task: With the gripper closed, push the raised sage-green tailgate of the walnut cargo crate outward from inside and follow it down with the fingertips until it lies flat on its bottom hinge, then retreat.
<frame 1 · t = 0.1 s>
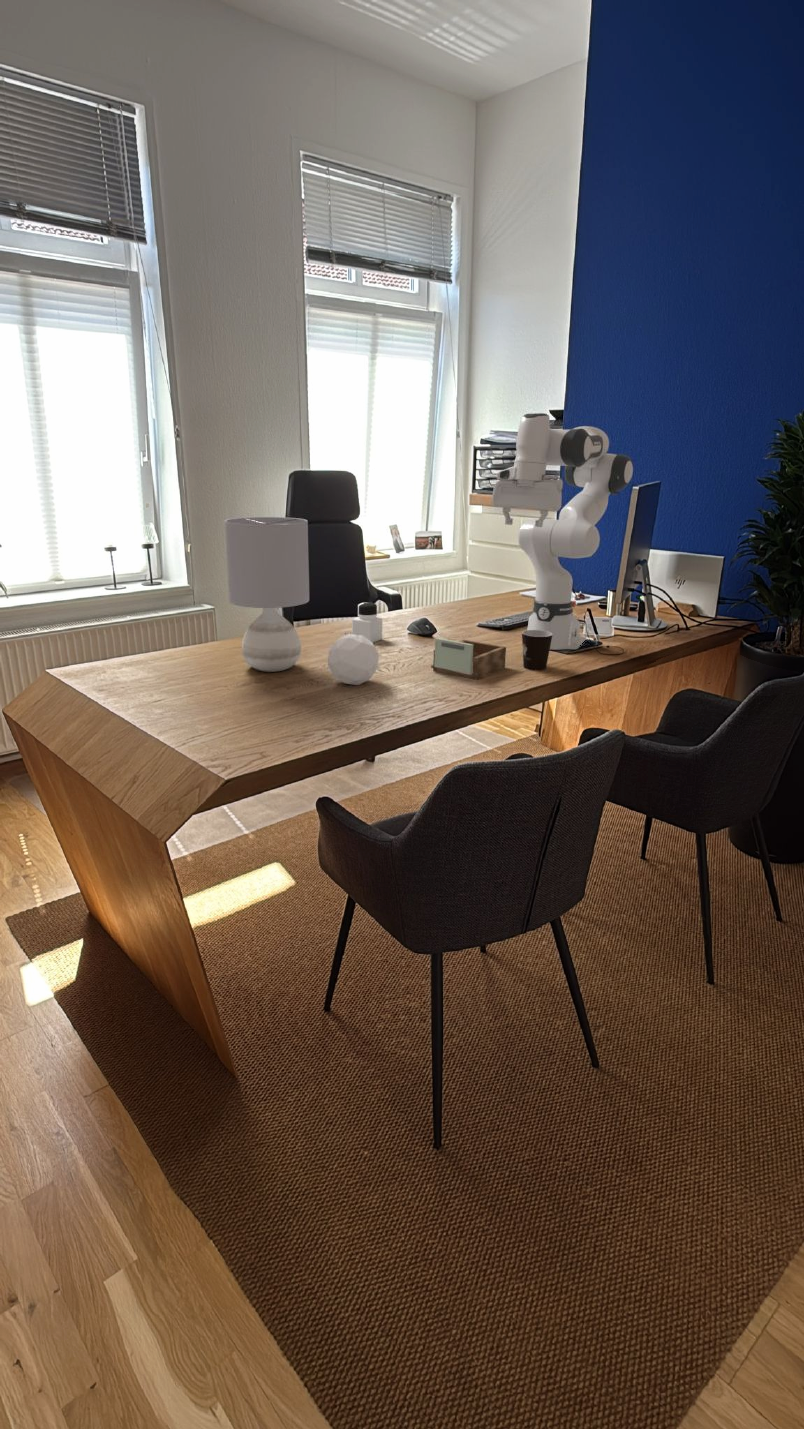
hand: (523, 525, 220), 39 cm above the table, tool pointing down, fingers open, 8 cm apart
coffee mug: (534, 666, 227), on the table
medicine bottle: (367, 640, 253), on the table
lamp: (272, 668, 220), on the table
geodesic sphere: (353, 683, 208), on the table
crate: (469, 669, 222), on the table
tailgate: (453, 655, 213), point 6 cm above the table, hinge at 0.0°
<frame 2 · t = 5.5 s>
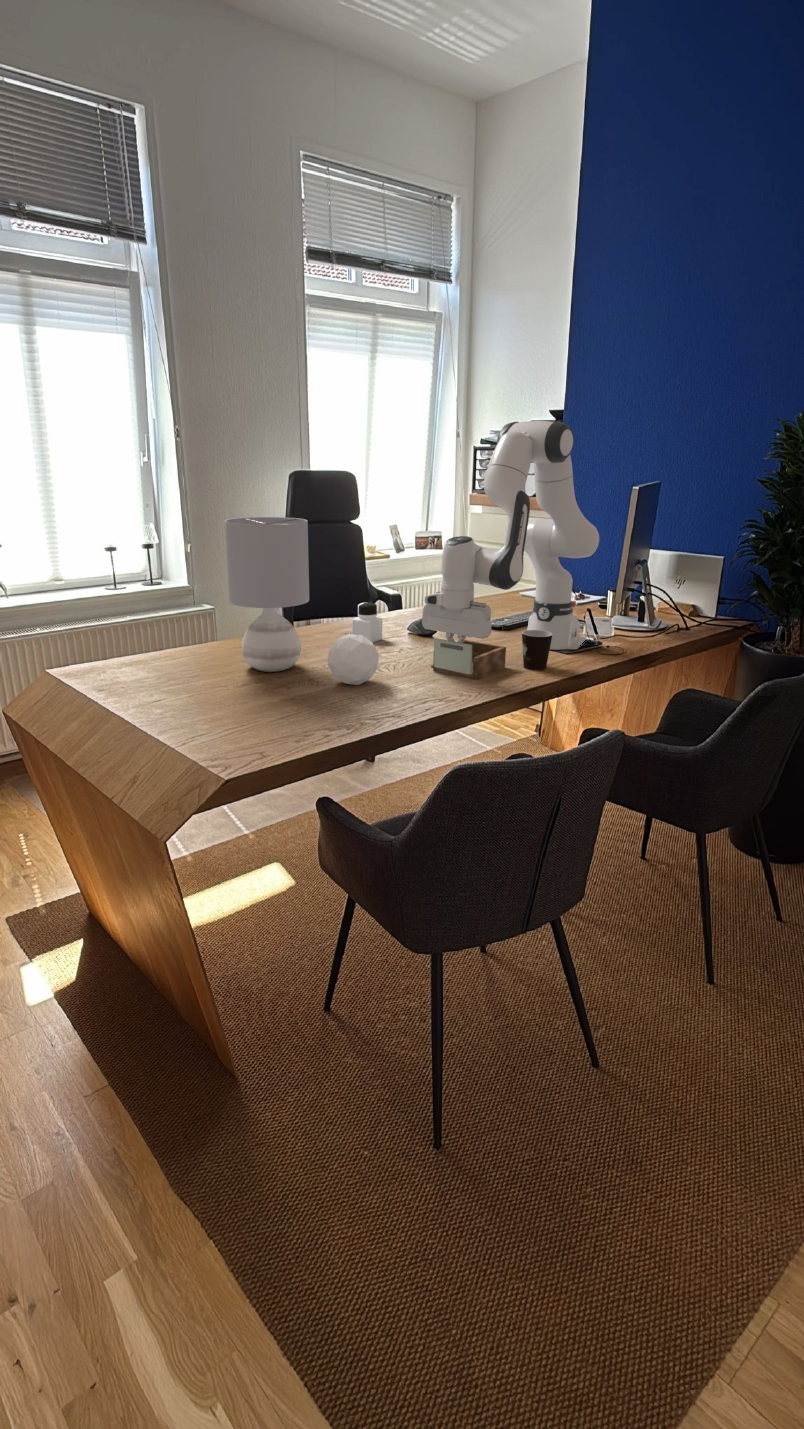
hand: (455, 649, 214), 7 cm above the table, tool pointing down, fingers closed, pressing on tailgate
tailgate: (452, 656, 213), point 6 cm above the table, hinge at 4.2°, touching gripper
everything else where it was.
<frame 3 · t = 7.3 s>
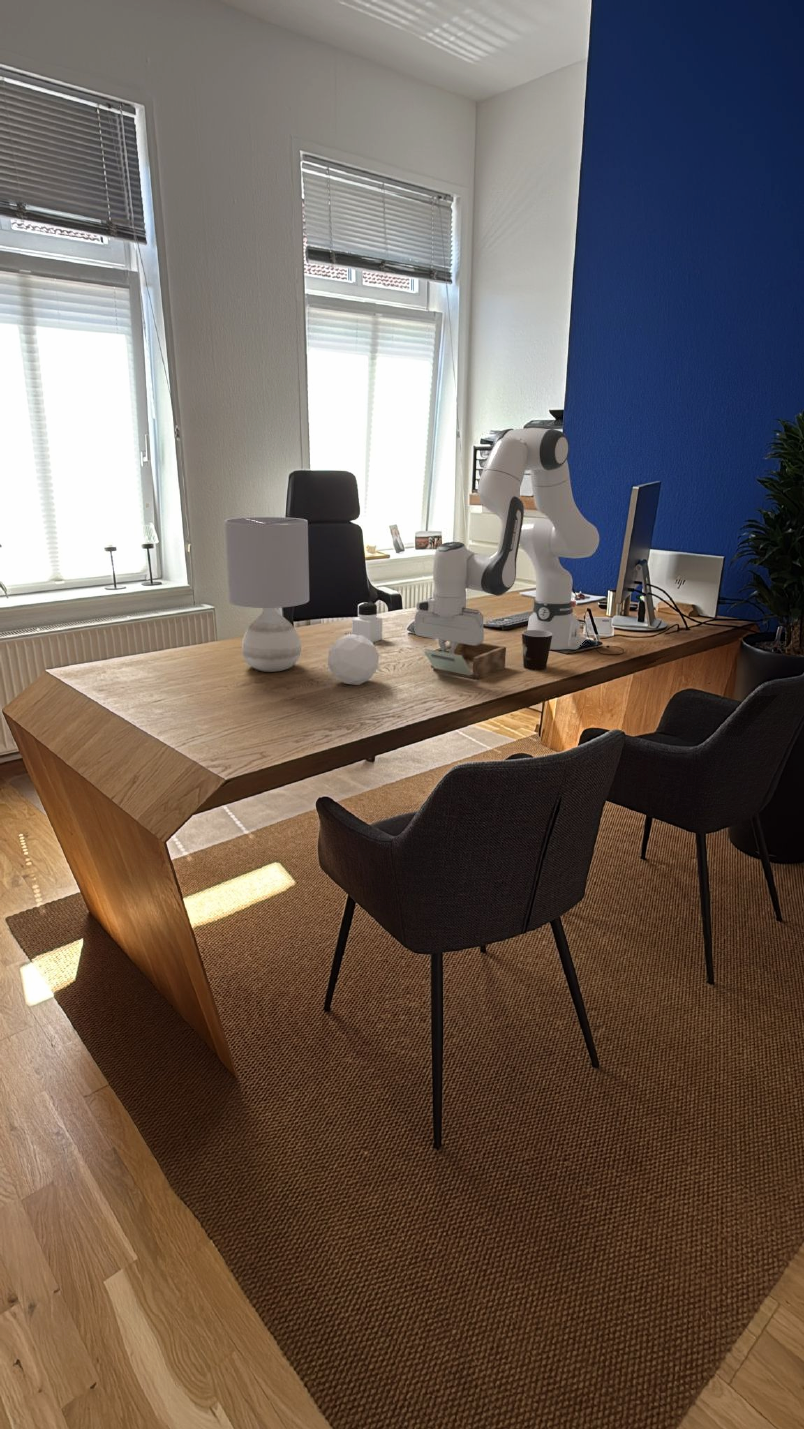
hand: (447, 656, 211), 6 cm above the table, tool pointing down, fingers closed, pressing on tailgate
tailgate: (447, 662, 212), point 4 cm above the table, hinge at 43.1°, touching gripper
everything else where it was.
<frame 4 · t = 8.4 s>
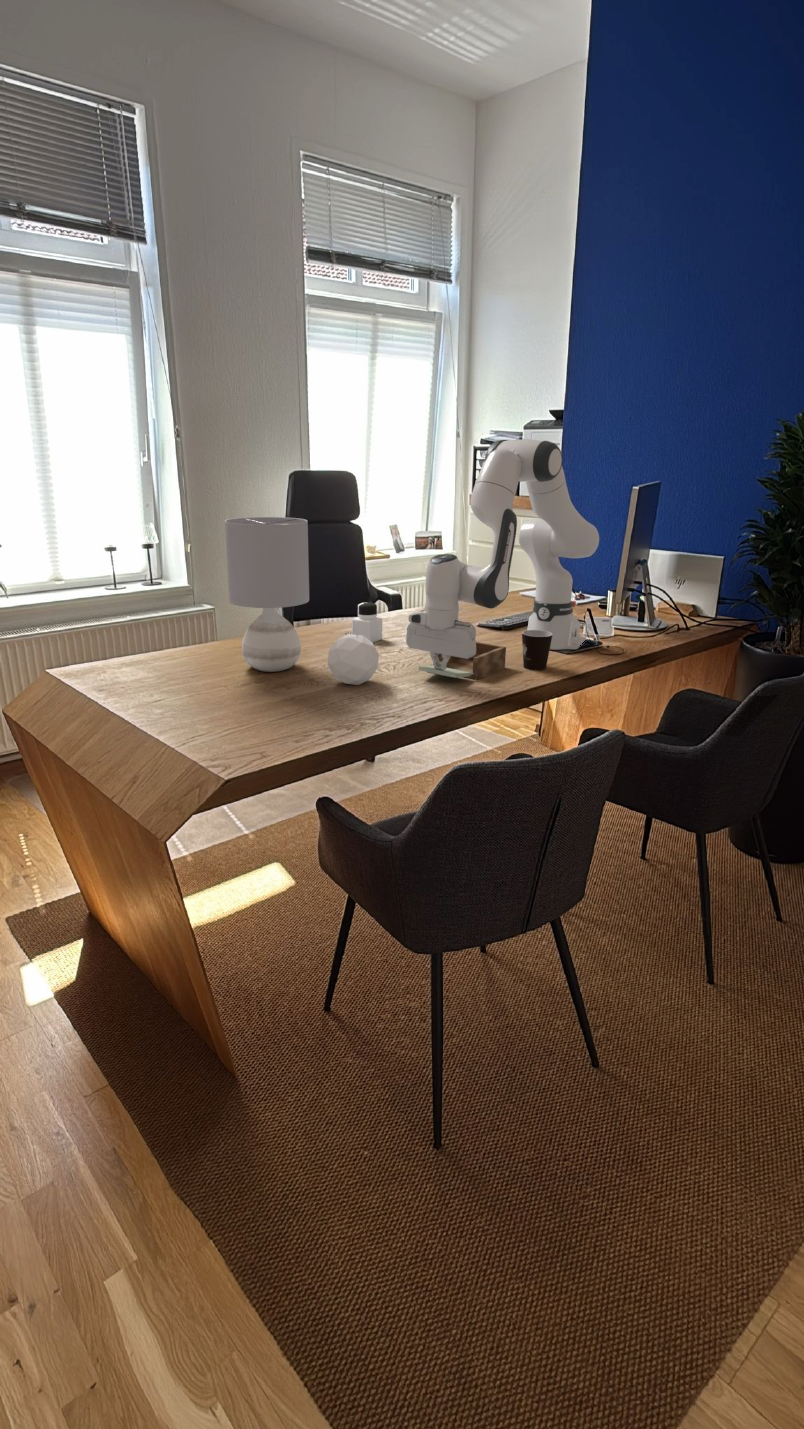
hand: (440, 669, 209), 3 cm above the table, tool pointing down, fingers closed, pressing on tailgate
tailgate: (444, 671, 212), point 2 cm above the table, hinge at 80.0°, touching gripper
everything else where it was.
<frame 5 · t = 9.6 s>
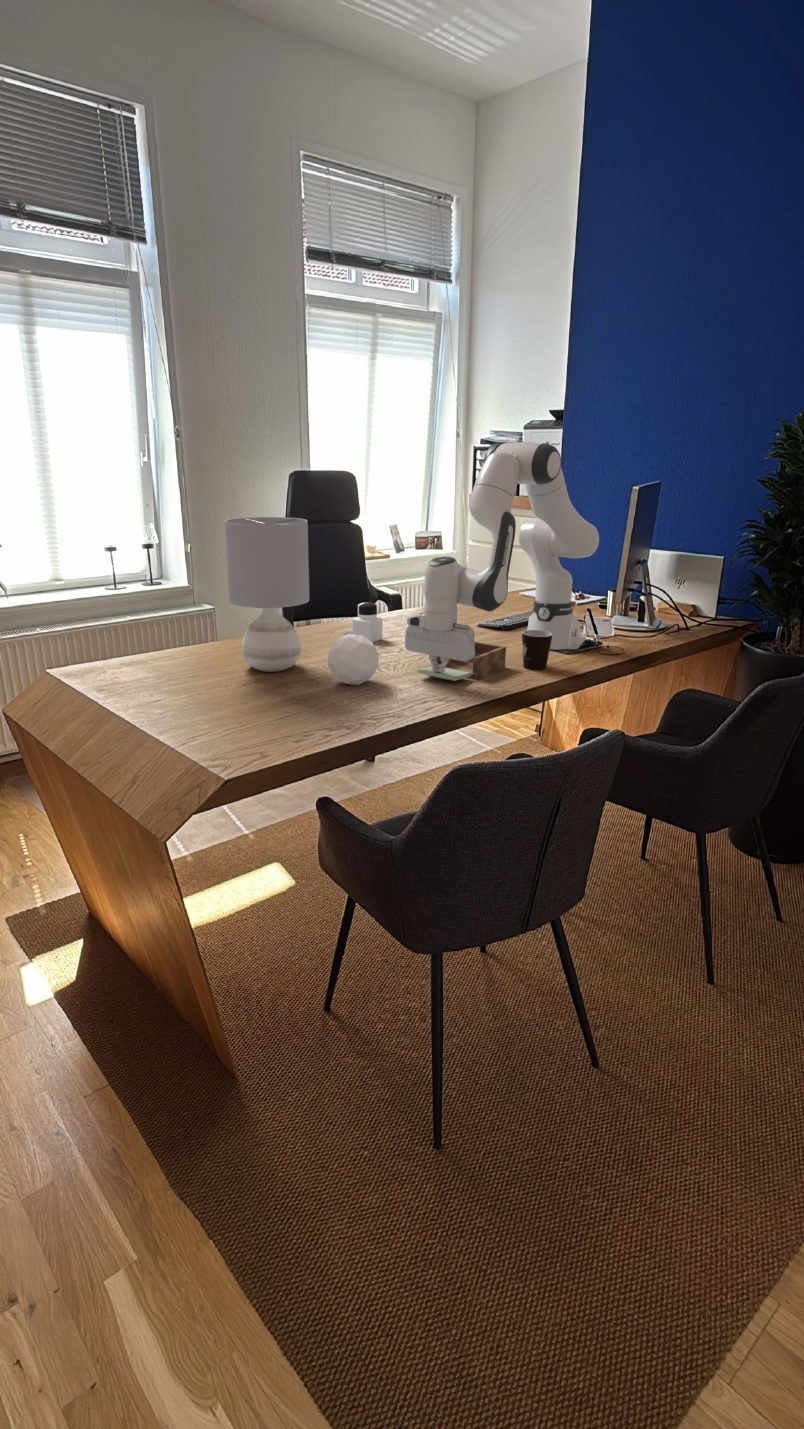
hand: (438, 671, 209), 3 cm above the table, tool pointing down, fingers closed
tailgate: (444, 673, 212), point 2 cm above the table, hinge at 85.8°
everything else where it was.
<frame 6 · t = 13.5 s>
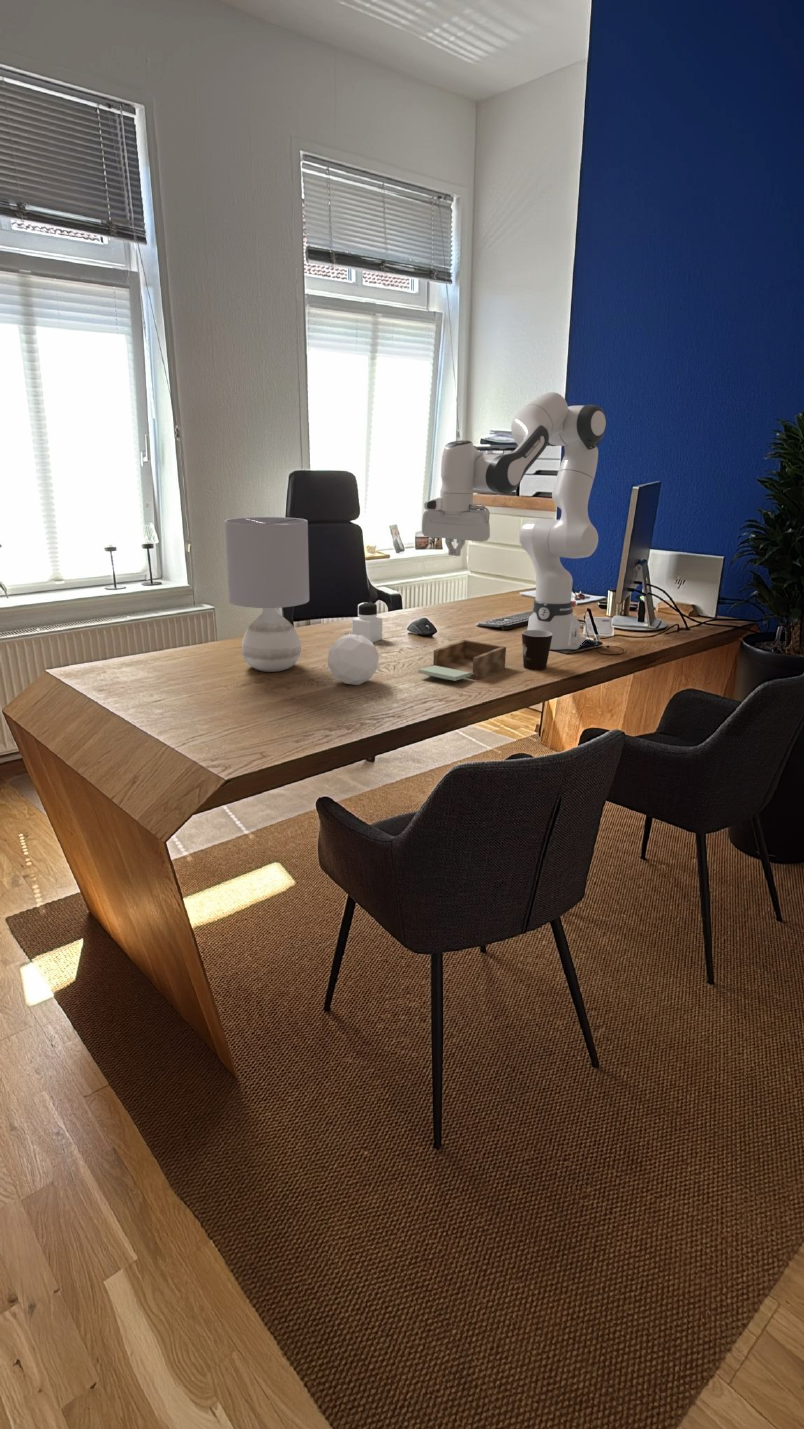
hand: (454, 555, 217), 31 cm above the table, tool pointing down, fingers closed
nothing on the table moved.
at the end: tailgate at +86° (first picture: +0°) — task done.
